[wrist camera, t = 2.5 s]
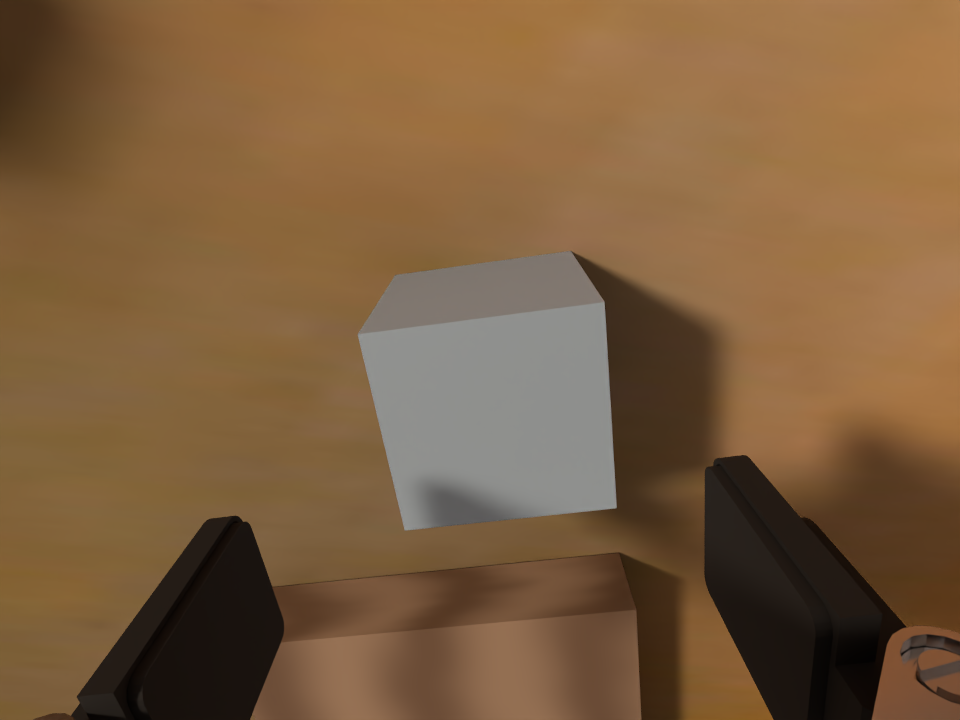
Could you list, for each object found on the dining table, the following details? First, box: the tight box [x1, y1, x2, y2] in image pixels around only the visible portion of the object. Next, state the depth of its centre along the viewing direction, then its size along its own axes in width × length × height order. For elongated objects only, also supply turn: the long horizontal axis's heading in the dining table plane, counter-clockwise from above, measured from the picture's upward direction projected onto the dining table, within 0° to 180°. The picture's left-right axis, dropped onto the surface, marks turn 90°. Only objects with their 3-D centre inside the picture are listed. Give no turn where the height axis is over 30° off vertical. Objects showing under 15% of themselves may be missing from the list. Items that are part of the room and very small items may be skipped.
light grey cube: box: [358, 251, 617, 530], centre depth 17 cm, size 6×6×6 cm
